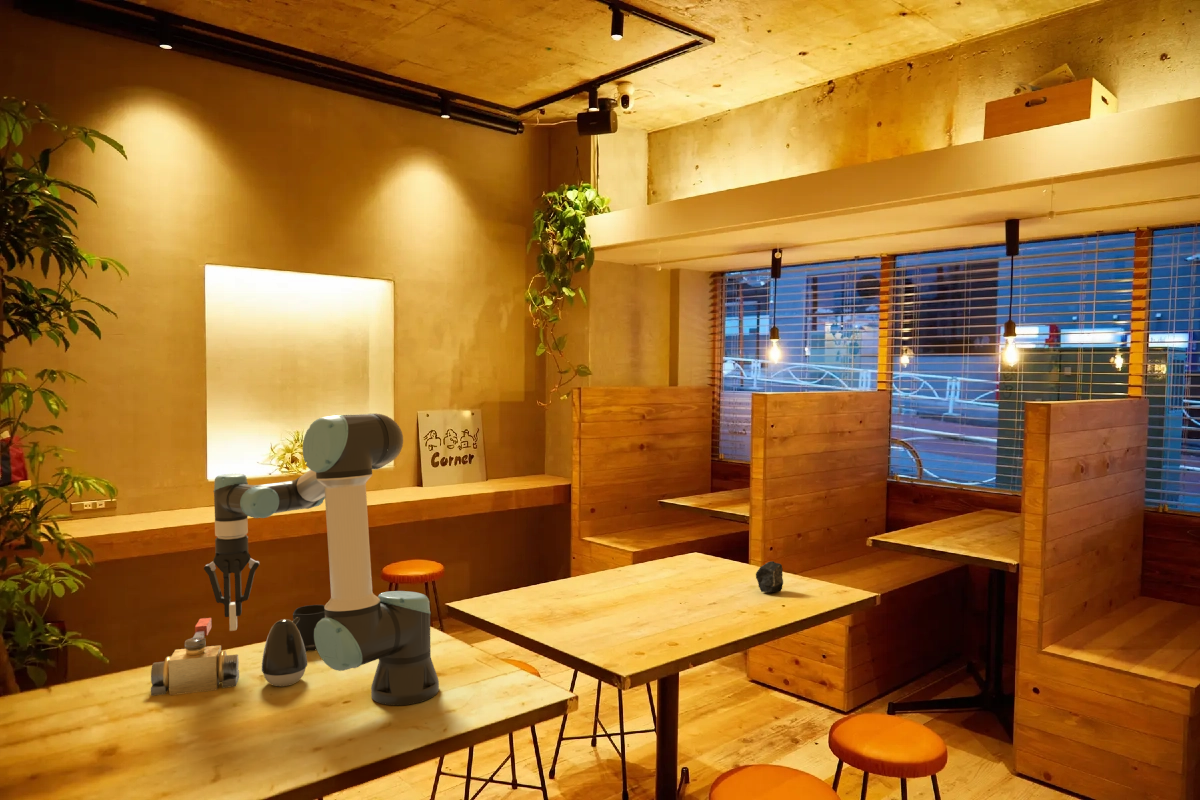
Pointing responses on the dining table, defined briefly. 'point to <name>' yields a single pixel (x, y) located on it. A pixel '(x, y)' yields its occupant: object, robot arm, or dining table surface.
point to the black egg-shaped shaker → (284, 654)
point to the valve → (194, 671)
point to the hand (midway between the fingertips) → (233, 628)
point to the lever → (199, 634)
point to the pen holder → (308, 623)
